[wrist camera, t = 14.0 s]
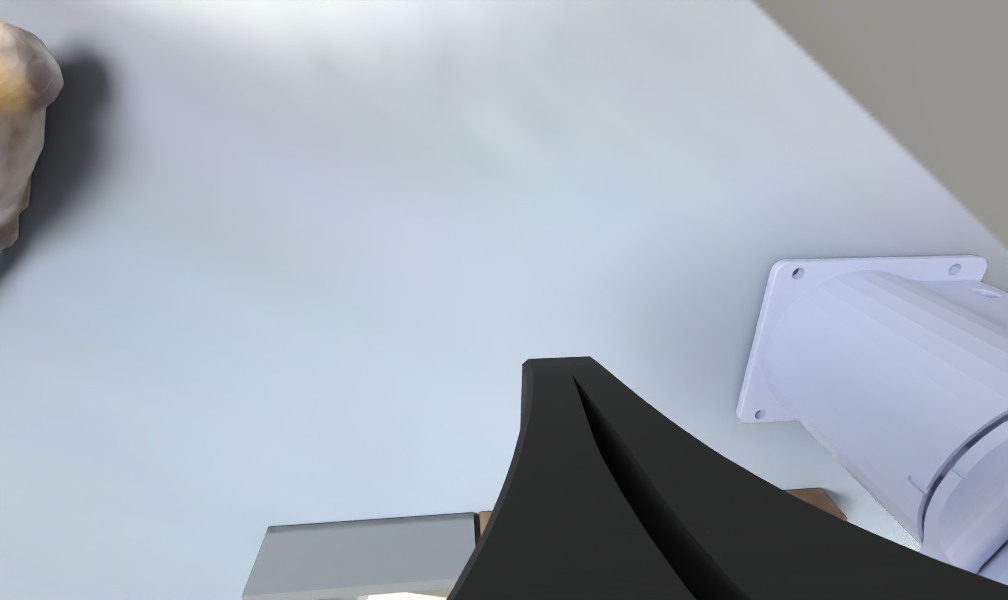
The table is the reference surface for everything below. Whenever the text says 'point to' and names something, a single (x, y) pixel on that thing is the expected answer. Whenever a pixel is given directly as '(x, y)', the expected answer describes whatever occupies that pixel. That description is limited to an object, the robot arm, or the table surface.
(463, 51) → the table surface
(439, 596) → the cream tile
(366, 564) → the box
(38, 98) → the decorative sculpture
